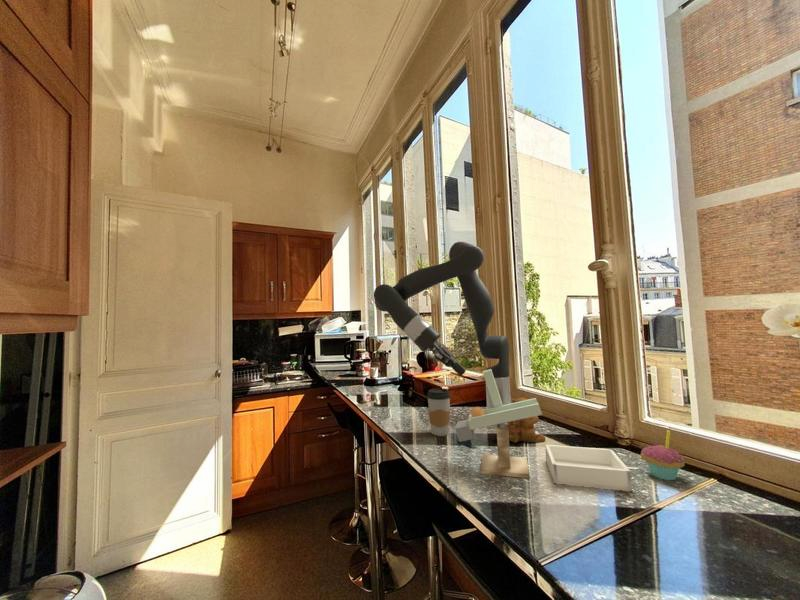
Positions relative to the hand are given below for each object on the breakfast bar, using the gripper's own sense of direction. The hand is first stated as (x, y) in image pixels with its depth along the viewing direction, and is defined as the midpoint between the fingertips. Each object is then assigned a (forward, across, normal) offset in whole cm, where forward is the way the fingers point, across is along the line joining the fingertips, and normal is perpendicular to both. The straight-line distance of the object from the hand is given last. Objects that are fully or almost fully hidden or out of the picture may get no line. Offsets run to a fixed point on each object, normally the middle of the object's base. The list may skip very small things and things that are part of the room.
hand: (463, 373), depth 97 cm
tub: (+38, +3, +4) cm, 39 cm away
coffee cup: (+9, -19, -26) cm, 33 cm away
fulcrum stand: (+24, +4, -10) cm, 27 cm away
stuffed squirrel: (+28, -19, -7) cm, 35 cm away
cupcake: (+52, -1, +16) cm, 54 cm away
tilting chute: (+17, +3, -3) cm, 18 cm away
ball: (+10, +4, -5) cm, 12 cm away
